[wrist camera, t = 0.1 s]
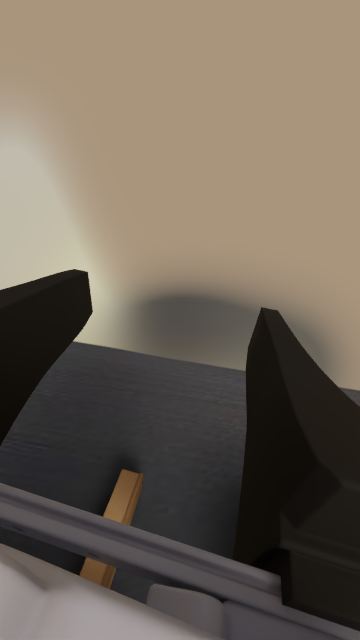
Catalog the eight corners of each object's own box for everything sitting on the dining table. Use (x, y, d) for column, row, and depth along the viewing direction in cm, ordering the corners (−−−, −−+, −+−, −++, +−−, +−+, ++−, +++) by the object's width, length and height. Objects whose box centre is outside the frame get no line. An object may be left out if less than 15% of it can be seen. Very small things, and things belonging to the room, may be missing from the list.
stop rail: (22, 860, 12) (9, 878, 10) (-18, 841, 12) (-37, 855, 11) (142, 488, 25) (143, 473, 24) (122, 482, 25) (122, 467, 24)
